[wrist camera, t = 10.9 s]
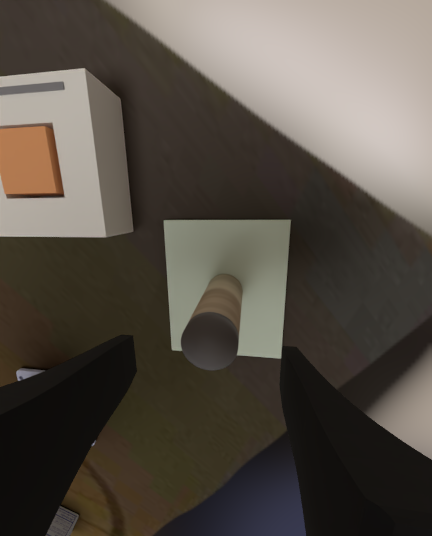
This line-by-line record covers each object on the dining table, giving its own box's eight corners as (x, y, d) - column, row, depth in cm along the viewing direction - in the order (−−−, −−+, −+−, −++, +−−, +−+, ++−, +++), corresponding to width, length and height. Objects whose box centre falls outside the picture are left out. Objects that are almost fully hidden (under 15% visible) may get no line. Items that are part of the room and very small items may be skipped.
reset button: (84, 195, 18) (56, 192, 16) (39, 195, 19) (4, 193, 16) (76, 138, 17) (44, 126, 14) (29, 141, 18) (-10, 129, 15)
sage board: (280, 354, 21) (280, 358, 20) (173, 346, 22) (171, 350, 22) (289, 219, 18) (290, 220, 17) (166, 219, 19) (163, 220, 19)
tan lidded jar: (243, 307, 20) (239, 371, 12) (208, 307, 20) (183, 369, 12) (241, 273, 19) (236, 319, 11) (206, 274, 19) (177, 318, 12)
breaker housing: (133, 231, 20) (105, 237, 16) (31, 231, 21) (-18, 236, 17) (120, 98, 18) (83, 67, 14) (6, 108, 19) (-58, 81, 15)
